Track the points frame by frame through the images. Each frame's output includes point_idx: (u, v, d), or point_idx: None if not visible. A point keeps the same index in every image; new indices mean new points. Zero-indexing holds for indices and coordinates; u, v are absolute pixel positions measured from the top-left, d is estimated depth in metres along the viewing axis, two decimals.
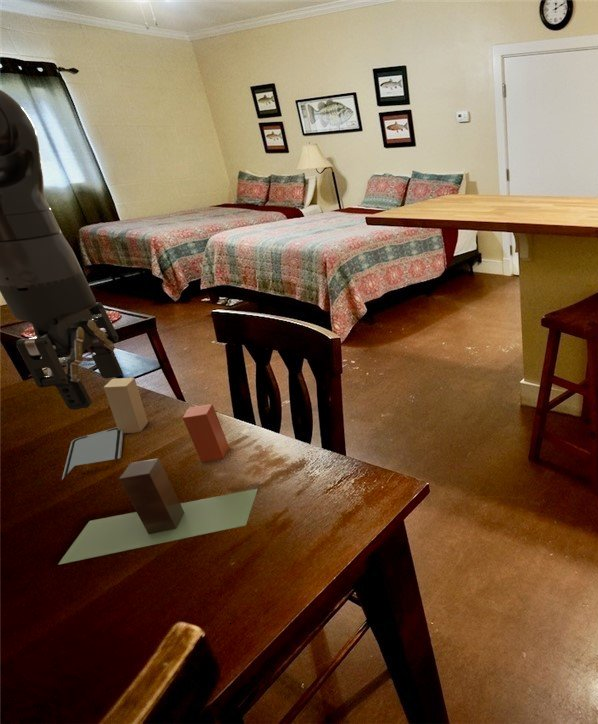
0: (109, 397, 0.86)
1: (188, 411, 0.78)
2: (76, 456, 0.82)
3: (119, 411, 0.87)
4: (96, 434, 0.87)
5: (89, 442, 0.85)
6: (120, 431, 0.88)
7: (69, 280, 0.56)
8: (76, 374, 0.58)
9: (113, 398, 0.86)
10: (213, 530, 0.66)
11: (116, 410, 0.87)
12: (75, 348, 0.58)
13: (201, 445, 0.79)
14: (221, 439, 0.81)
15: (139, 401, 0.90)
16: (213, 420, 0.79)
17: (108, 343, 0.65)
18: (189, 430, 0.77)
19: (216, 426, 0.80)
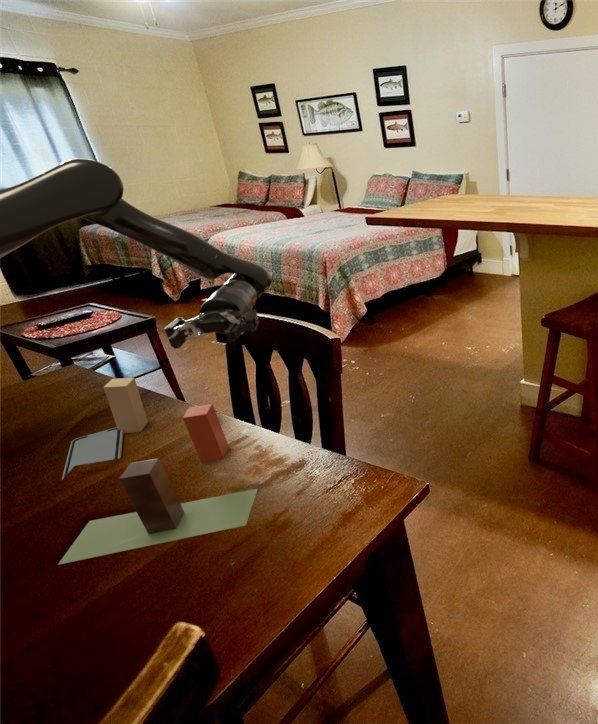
0: (109, 397, 0.86)
1: (188, 411, 0.78)
2: (76, 456, 0.82)
3: (119, 411, 0.87)
4: (96, 434, 0.87)
5: (89, 442, 0.85)
6: (120, 431, 0.88)
7: None
8: None
9: (113, 398, 0.86)
10: (213, 530, 0.66)
11: (116, 410, 0.87)
12: None
13: (201, 445, 0.79)
14: (221, 439, 0.81)
15: (139, 401, 0.90)
16: (213, 420, 0.79)
17: None
18: (189, 430, 0.77)
19: (216, 426, 0.80)
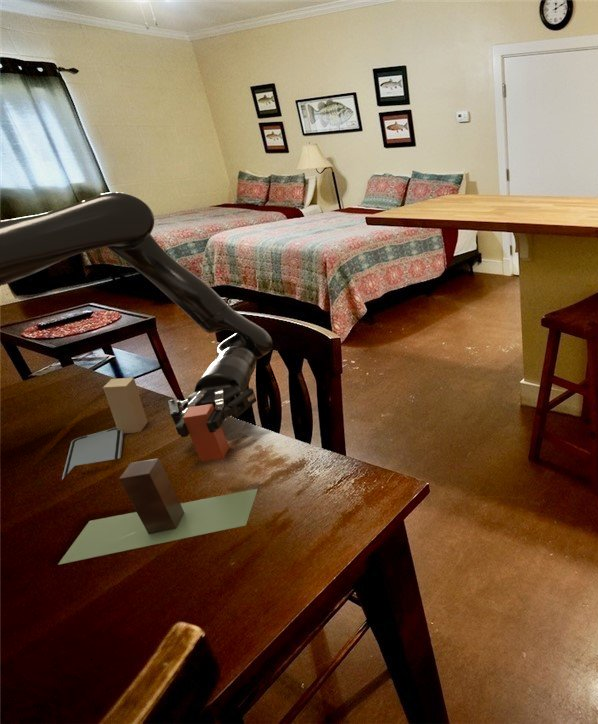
0: (109, 397, 0.86)
1: (188, 411, 0.78)
2: (76, 456, 0.82)
3: (119, 411, 0.87)
4: (96, 434, 0.87)
5: (89, 442, 0.85)
6: (120, 431, 0.88)
7: None
8: None
9: (113, 398, 0.86)
10: (213, 530, 0.66)
11: (116, 410, 0.87)
12: None
13: (202, 445, 0.79)
14: (221, 439, 0.81)
15: (138, 401, 0.90)
16: None
17: None
18: (189, 430, 0.77)
19: None
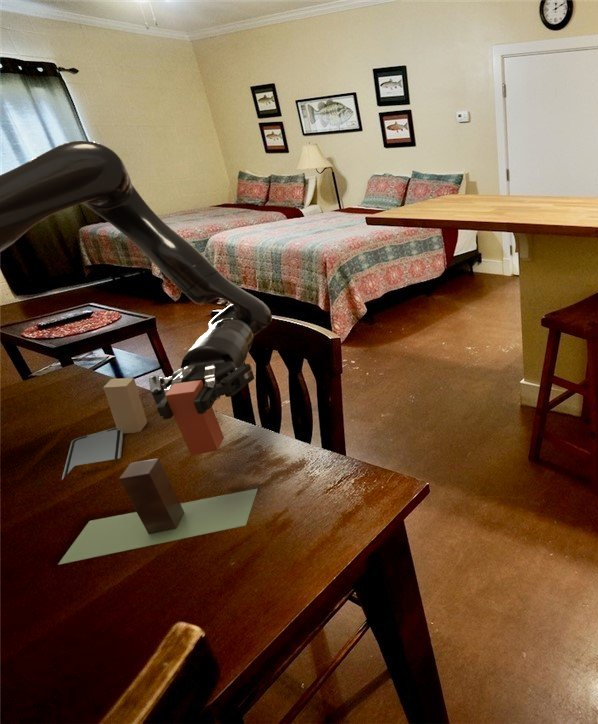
0: (109, 397, 0.86)
1: (172, 388, 0.64)
2: (76, 456, 0.82)
3: (119, 411, 0.87)
4: (95, 434, 0.87)
5: (89, 442, 0.85)
6: (120, 431, 0.88)
7: None
8: None
9: (113, 398, 0.86)
10: (213, 530, 0.66)
11: (116, 410, 0.87)
12: None
13: (189, 429, 0.66)
14: (212, 422, 0.68)
15: (138, 401, 0.90)
16: None
17: None
18: (173, 411, 0.64)
19: None
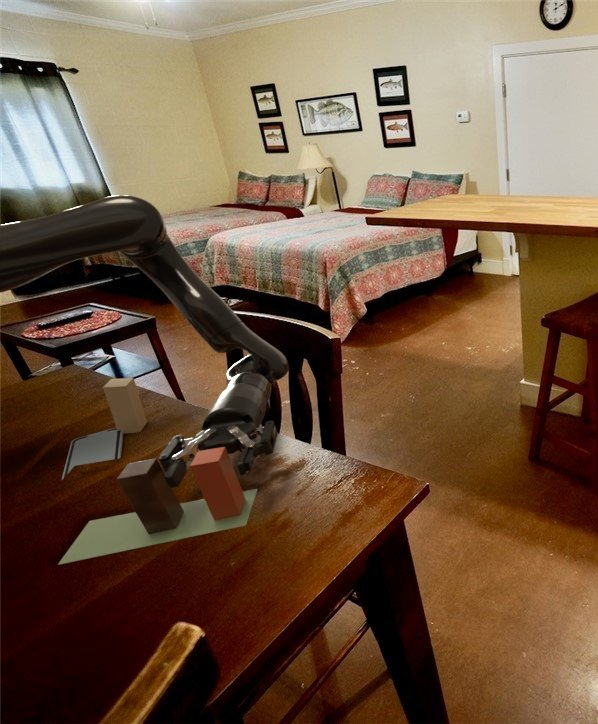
0: (108, 397, 0.86)
1: (197, 457, 0.65)
2: (76, 456, 0.82)
3: (118, 411, 0.87)
4: (95, 434, 0.87)
5: (89, 442, 0.85)
6: (120, 431, 0.88)
7: None
8: None
9: (112, 398, 0.86)
10: (213, 530, 0.66)
11: (115, 410, 0.87)
12: None
13: (212, 496, 0.66)
14: (235, 487, 0.69)
15: (138, 401, 0.90)
16: (226, 466, 0.67)
17: None
18: (198, 480, 0.65)
19: (230, 473, 0.68)
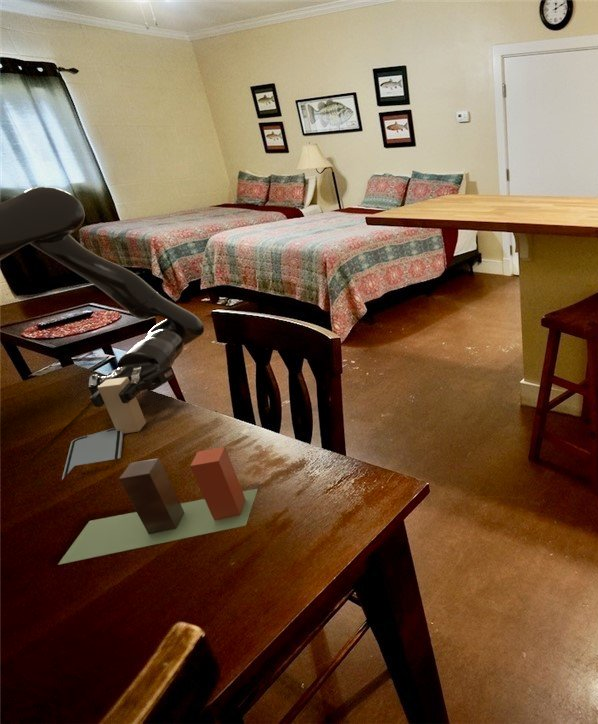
0: (104, 397, 0.86)
1: (197, 457, 0.65)
2: (76, 456, 0.82)
3: (116, 411, 0.87)
4: (95, 434, 0.87)
5: (89, 442, 0.85)
6: (120, 431, 0.88)
7: None
8: None
9: (108, 398, 0.86)
10: (213, 530, 0.66)
11: (112, 410, 0.87)
12: None
13: (212, 496, 0.66)
14: (235, 487, 0.69)
15: (135, 400, 0.90)
16: (226, 466, 0.67)
17: None
18: (198, 480, 0.65)
19: (230, 473, 0.68)
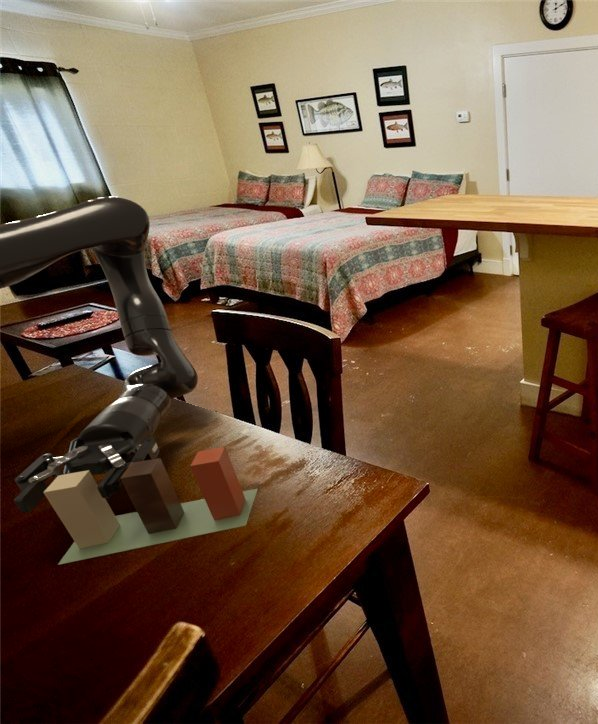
0: (54, 504, 0.60)
1: (197, 457, 0.65)
2: None
3: (73, 520, 0.62)
4: None
5: None
6: None
7: None
8: None
9: (61, 505, 0.61)
10: (213, 530, 0.66)
11: (68, 519, 0.62)
12: None
13: (212, 496, 0.66)
14: (235, 487, 0.69)
15: (101, 500, 0.64)
16: (226, 466, 0.67)
17: None
18: (198, 480, 0.65)
19: (230, 473, 0.68)
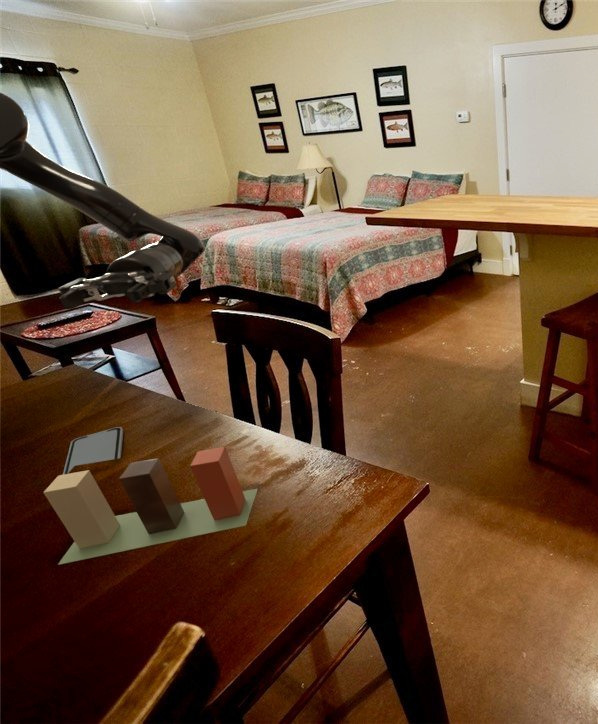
0: (54, 504, 0.60)
1: (197, 457, 0.65)
2: (76, 456, 0.82)
3: (73, 520, 0.62)
4: (95, 434, 0.87)
5: (89, 442, 0.85)
6: (120, 431, 0.88)
7: None
8: (147, 295, 0.79)
9: (61, 505, 0.61)
10: (213, 530, 0.66)
11: (68, 519, 0.62)
12: None
13: (212, 496, 0.66)
14: (235, 487, 0.69)
15: (101, 500, 0.64)
16: (226, 466, 0.67)
17: None
18: (198, 480, 0.65)
19: (230, 473, 0.68)
